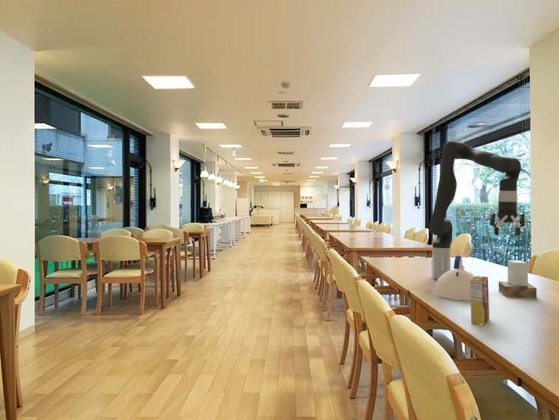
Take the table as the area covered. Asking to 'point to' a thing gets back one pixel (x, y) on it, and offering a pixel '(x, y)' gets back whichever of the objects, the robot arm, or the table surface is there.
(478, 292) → the candy box
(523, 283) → the small box
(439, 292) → the kettle
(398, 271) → the table surface
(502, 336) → the table surface
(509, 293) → the walnut block
